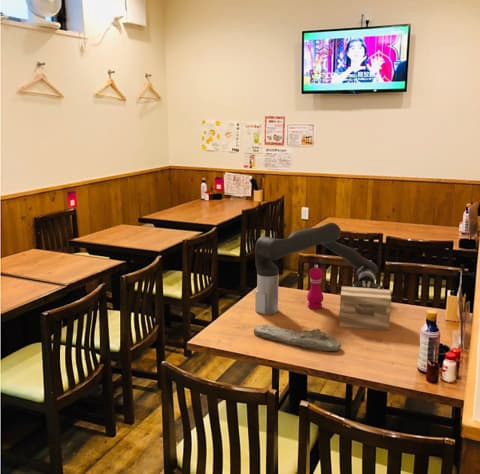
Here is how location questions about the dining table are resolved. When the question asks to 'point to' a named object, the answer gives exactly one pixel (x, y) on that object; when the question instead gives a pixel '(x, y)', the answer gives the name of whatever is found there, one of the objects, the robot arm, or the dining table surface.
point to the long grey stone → (299, 338)
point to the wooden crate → (365, 308)
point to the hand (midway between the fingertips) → (365, 291)
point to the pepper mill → (315, 289)
